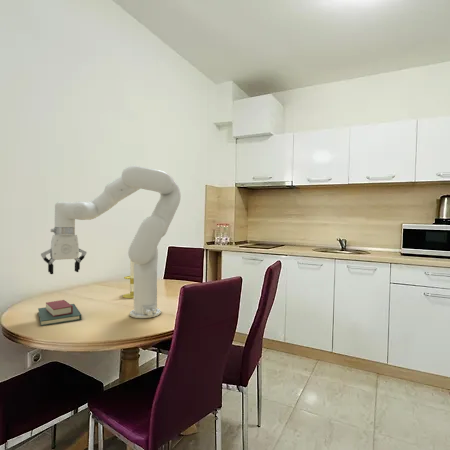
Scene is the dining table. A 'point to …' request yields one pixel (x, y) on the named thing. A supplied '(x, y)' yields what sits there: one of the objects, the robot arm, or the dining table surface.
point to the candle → (131, 277)
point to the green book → (49, 319)
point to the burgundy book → (59, 308)
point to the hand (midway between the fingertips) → (64, 272)
